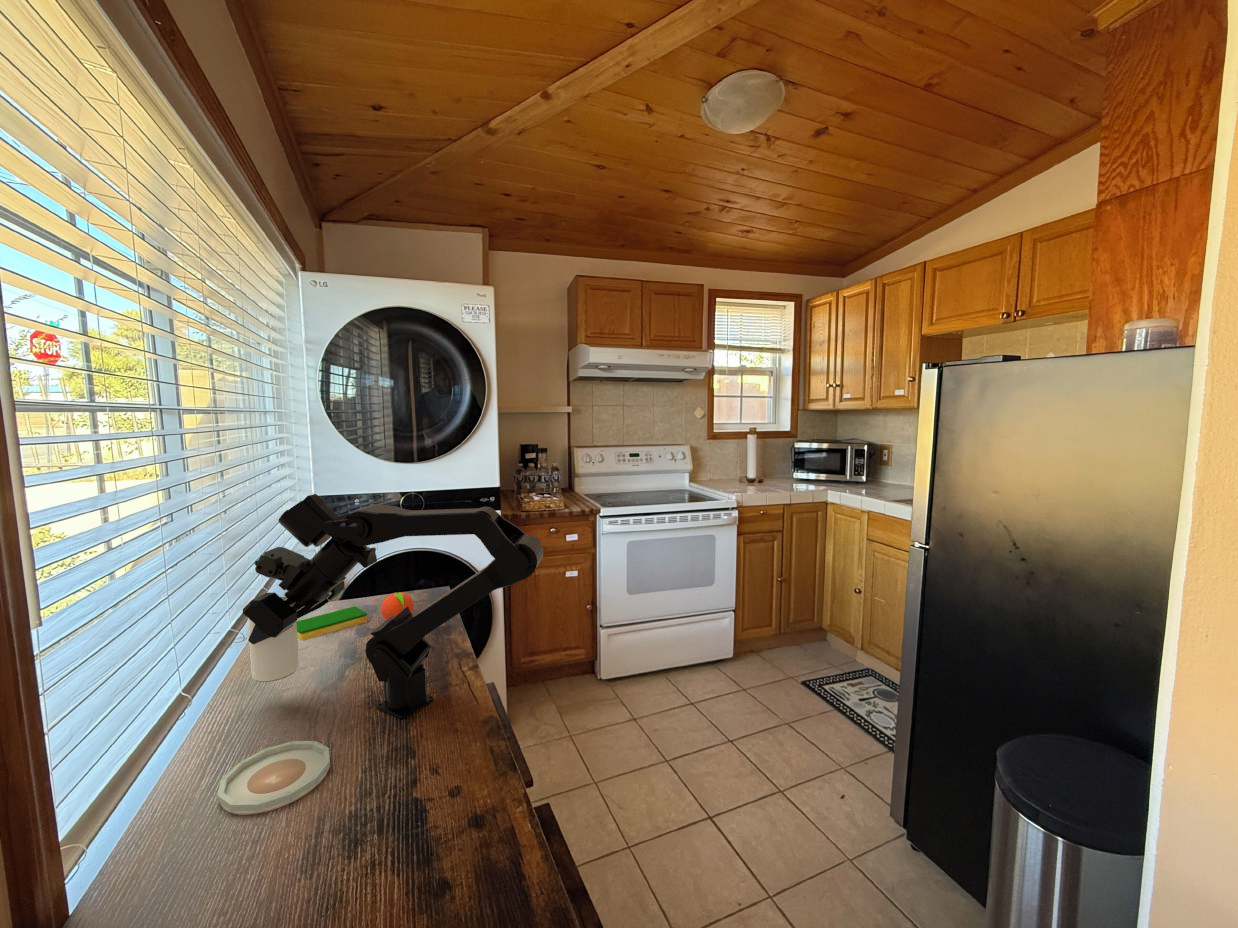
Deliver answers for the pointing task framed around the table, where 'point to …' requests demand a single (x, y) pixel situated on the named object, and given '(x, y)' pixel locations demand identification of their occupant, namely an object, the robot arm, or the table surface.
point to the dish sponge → (330, 622)
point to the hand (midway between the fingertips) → (265, 633)
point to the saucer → (274, 777)
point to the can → (274, 655)
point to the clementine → (396, 604)
